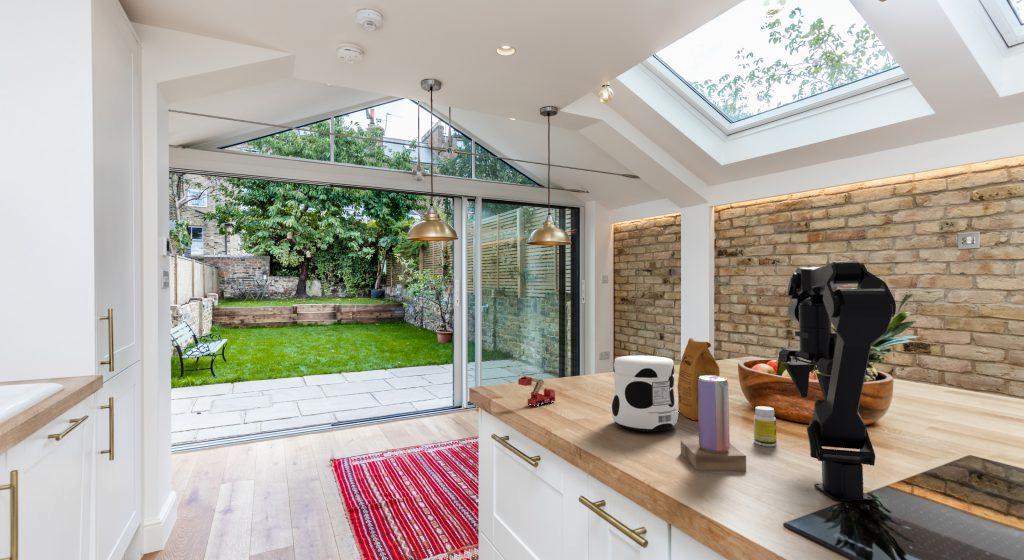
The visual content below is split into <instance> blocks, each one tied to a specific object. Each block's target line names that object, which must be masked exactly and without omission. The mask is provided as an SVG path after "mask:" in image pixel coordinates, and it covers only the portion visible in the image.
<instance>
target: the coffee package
mask: <svg viewBox="0 0 1024 560" xmlns="http://www.w3.org/2000/svg"><path fill="white" fill-rule="evenodd" d="M711 347H712V344H711V343H710V342H709V341H696V340H695V339H694V338H692V337H690V338H688V340H687V344H686V346H685V349H684V352H683V354H682V356H681V360H680V363H679V369H678V380H677V388H676V389H677V398H678V400H677V405H678V411H679V412H678V413H681V414H682V416H683V417H684V416H685V417H684V418H686V417H687V418H686V419H689V418H690V419H689V420H692V421H699V419H698V381H699V377H700V376H719V377H720V366H719V365H718V363H717V362H716V359H715V358H714V356H713V354H712V353H711V351H710V348H711Z"/></svg>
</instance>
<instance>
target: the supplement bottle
mask: <svg viewBox="0 0 1024 560" xmlns="http://www.w3.org/2000/svg"><path fill="white" fill-rule="evenodd" d="M754 412H755V415H753V442H754V443H755V444H756V445H758V446H761V445H762V447H776V446H777V419H776V417H775V409H774V407H771V406H763V405H759V406H755V408H754Z"/></svg>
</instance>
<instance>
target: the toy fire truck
mask: <svg viewBox="0 0 1024 560" xmlns="http://www.w3.org/2000/svg"><path fill="white" fill-rule="evenodd" d="M532 382H533V383H535V385H534V388H533V390H532V391H531V392H530V397H529V398H527V405H528V404H531V405H539V404H544V403H548V402H552V401H555V402H556V393H555V390H554V389H552V388H546V387H545V388H544V389H543V394H542V393H540V390H542V387H543V385H544V384H545V381H544V380H543V378H537V377H531V376H527V375H524V376H521V377H519V378H518V382H517V383H518V385H519V386H520V385H521V386H524V387H526V386H532ZM548 404H549V403H548ZM544 405H545V404H544Z"/></svg>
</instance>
